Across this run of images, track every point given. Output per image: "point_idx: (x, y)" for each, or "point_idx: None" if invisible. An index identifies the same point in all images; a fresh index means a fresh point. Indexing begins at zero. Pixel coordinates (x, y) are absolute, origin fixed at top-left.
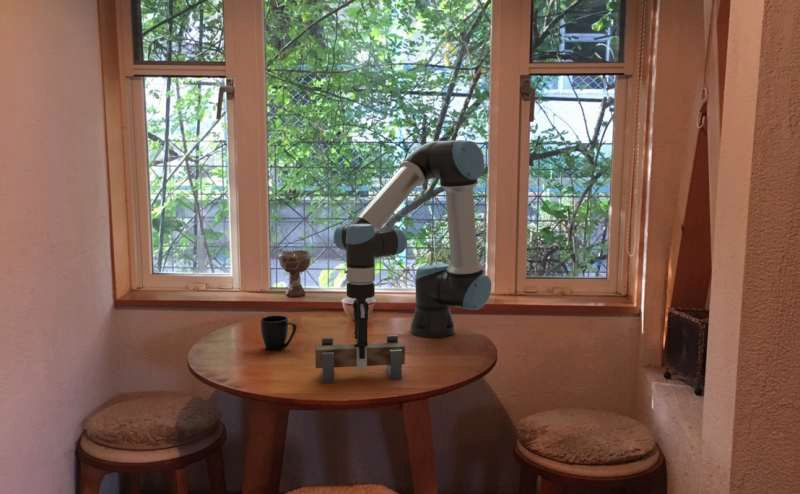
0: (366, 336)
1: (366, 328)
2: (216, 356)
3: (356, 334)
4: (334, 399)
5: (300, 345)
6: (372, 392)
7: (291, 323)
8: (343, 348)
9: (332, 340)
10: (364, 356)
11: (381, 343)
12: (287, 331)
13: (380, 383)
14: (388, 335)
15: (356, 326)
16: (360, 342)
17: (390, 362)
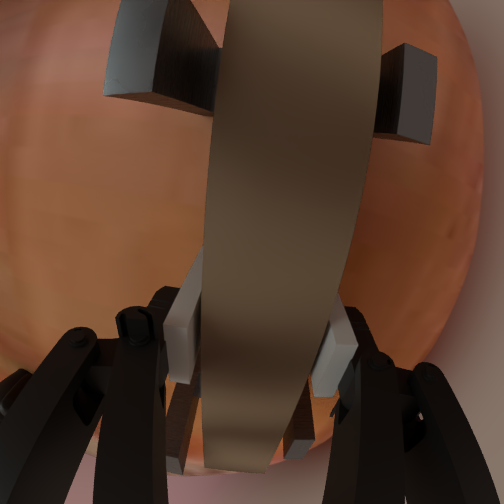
0: (463, 427)
1: (487, 481)
2: (96, 448)
3: (164, 413)
4: (422, 352)
5: (3, 338)
6: (439, 248)
7: (5, 414)
8: (278, 423)
9: (179, 450)
10: (362, 319)
11: (224, 169)
12: (5, 390)
13: (375, 192)
14: (118, 73)
15: (166, 483)
16: (415, 418)
17: (385, 138)
